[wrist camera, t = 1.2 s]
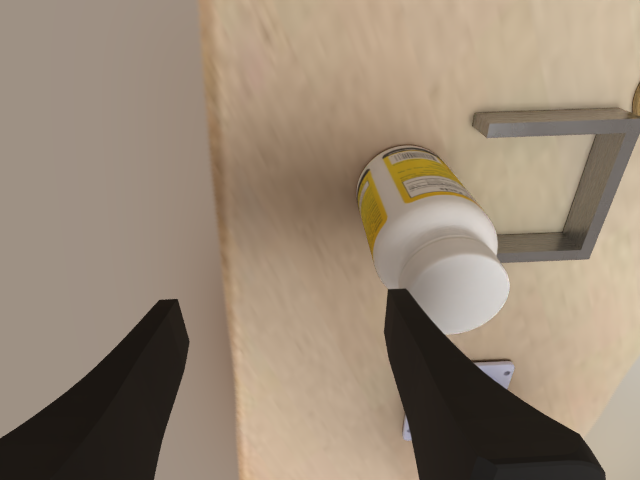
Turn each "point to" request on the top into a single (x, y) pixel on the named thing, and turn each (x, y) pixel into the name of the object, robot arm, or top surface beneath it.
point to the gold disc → (636, 102)
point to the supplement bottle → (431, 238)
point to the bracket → (596, 183)
